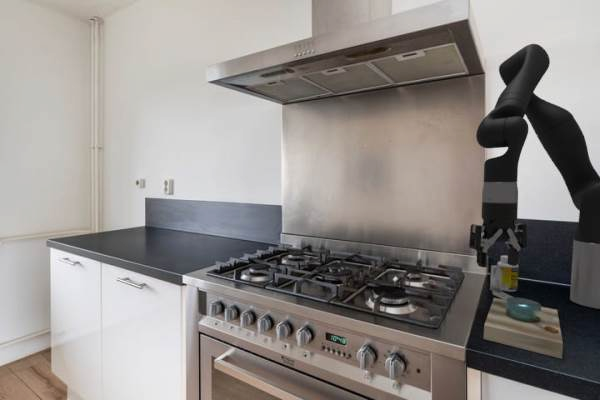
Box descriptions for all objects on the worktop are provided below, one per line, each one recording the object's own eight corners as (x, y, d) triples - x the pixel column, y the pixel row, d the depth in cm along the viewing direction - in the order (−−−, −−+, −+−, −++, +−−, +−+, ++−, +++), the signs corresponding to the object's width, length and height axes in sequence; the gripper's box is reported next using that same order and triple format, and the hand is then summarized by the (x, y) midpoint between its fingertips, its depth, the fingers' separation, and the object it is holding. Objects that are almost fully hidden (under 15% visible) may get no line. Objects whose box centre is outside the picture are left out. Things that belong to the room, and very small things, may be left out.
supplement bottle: (512, 293, 98) (513, 259, 97) (492, 288, 102) (494, 256, 102) (520, 290, 101) (522, 257, 100) (501, 285, 105) (503, 253, 105)
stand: (493, 309, 86) (493, 295, 85) (556, 322, 78) (557, 307, 78) (483, 338, 69) (484, 322, 69) (561, 358, 62) (563, 340, 62)
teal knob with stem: (563, 329, 67) (566, 287, 66) (535, 330, 66) (537, 287, 66) (503, 298, 84) (505, 265, 83) (480, 299, 83) (481, 265, 83)
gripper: (485, 201, 75) (483, 271, 76) (537, 201, 78) (535, 268, 79) (463, 200, 83) (461, 263, 83) (512, 199, 85) (510, 261, 86)
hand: (497, 265), depth 81 cm, fingers open, 8 cm apart
